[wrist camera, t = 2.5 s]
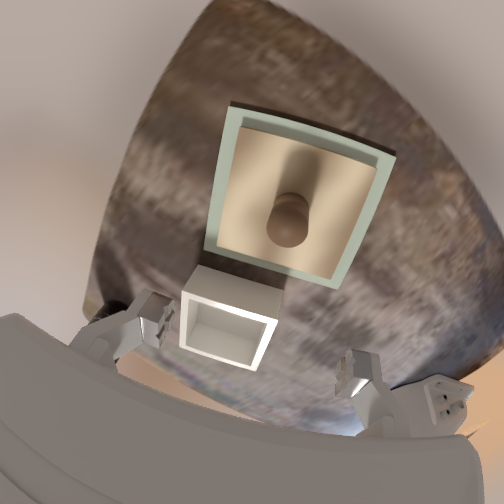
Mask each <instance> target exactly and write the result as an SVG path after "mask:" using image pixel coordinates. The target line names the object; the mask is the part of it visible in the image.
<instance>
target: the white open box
mask: <svg viewBox="0 0 504 504" xmlns="http://www.w3.org/2000/svg"><path fill="white" fill-rule="evenodd" d="M282 295H283V290H281V289H278V288H274V287H271V286H267V285H264V284H261V283H257V282H254V281H251V280H247V279H244V278H241V277H237V276H234V275H231V274H228V273H224V272H221V271H218V270H215V269H211V268H208V267H205V266H202V265H199V264H198V266H197V267H196V269H195V270H194V272H193V273H192V275H191V277H190V278H189V280H188V282H187V283H186V285H185V286H184V288H183V290H182V299H181V318H180V345H179V347H181V348H184V349H187V350H190V351H192V352H195V353H198V354H201V355H204V356H207V357H210V358H213V359H216V360H219V361H222V362H226V363H229V364H232V365H235V366H239V367H242V368H246V369H249V370H253V371H256V369H257V367H258V365H259V363H260V360H261V358H262V356H263V354H264V351H265V349H266V347H267V345H268V342H269V340H270V338H271V335H272V333H273V331H274V328H275V326H276V324H277V321H278V317H279V312H280V306H281V301H282Z"/></svg>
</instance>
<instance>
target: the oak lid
mask: <svg viewBox="0 0 504 504" xmlns="http://www.w3.org/2000/svg"><path fill="white" fill-rule="evenodd" d="M377 170H378V169H377V168H376V167H375V166H372V165H370V164H367V163H365V162H362V161H359V160H357V159H354V158H351V157H348V156H346V155H343V154H340V153H337V152H334V151H331V150H328V149H325V148H322V147H319V146H316V145H312V144H309V143H306V142H302V141H299V140H296V139H292V138H289V137H285V136H281V135H277V134H274V133H270V132H266V131H262V130H258V129H254V128H249V127H245V126H240V127H239V131H238V136H237V141H236V145H235V150H234V155H233V160H232V165H231V170H230V175H229V180H228V185H227V190H226V195H225V201H224V206H223V212H222V217H221V222H220V228H219V234H218V239H217V245H216V246H219V247H222V248H225V249H229V250H232V251H235V252H239V253H242V254H245V255H249V256H252V257H255V258H259V259H262V260H266V261H269V262H272V263H276V264H279V265H282V266H286V267H289V268H292V269H296V270H299V271H303V272H306V273H309V274H313V275H316V276H319V277H323V278H326V279H330V280H331V278H332V276H333V274H334V272H335V269H336V267H337V265H338V263H339V261H340V259H341V257H342V254H343V252H344V250H345V248H346V246H347V243H348V241H349V239H350V237H351V234H352V232H353V230H354V227H355V225H356V223H357V220H358V218H359V216H360V213H361V211H362V208H363V206H364V203H365V201H366V198H367V196H368V193H369V191H370V188H371V186H372V183H373V180H374V178H375V175H376V172H377Z"/></svg>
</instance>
